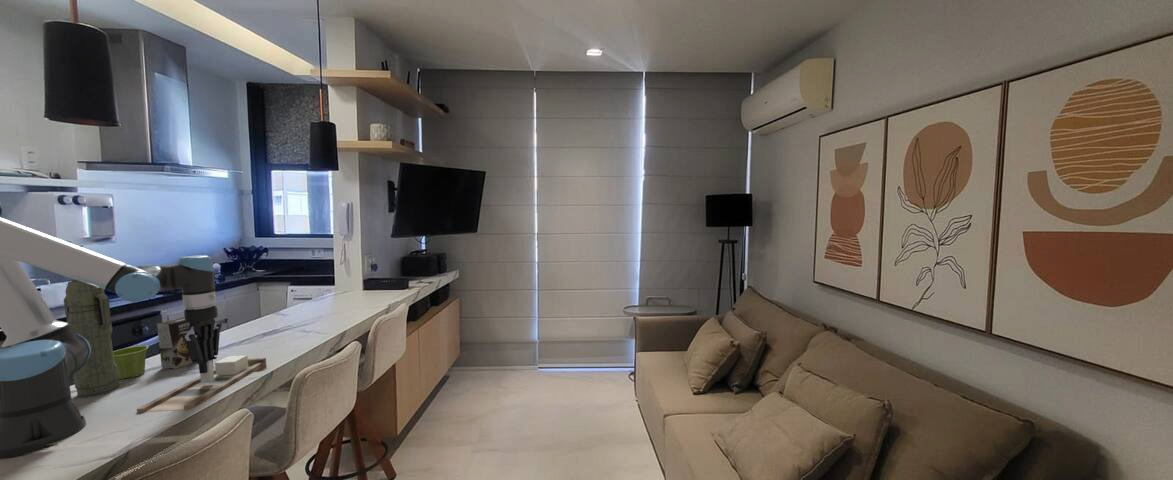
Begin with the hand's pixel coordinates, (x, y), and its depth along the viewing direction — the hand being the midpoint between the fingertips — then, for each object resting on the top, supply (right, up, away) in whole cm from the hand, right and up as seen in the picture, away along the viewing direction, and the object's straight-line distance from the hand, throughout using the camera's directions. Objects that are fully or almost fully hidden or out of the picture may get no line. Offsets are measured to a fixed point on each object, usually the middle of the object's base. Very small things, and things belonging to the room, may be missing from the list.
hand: (207, 381), depth 134 cm
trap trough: (+1, -2, 0) cm, 2 cm away
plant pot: (-36, -2, +12) cm, 38 cm away
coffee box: (-28, -1, +22) cm, 36 cm away
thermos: (-34, -3, 0) cm, 34 cm away
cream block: (-1, 0, +10) cm, 10 cm away
